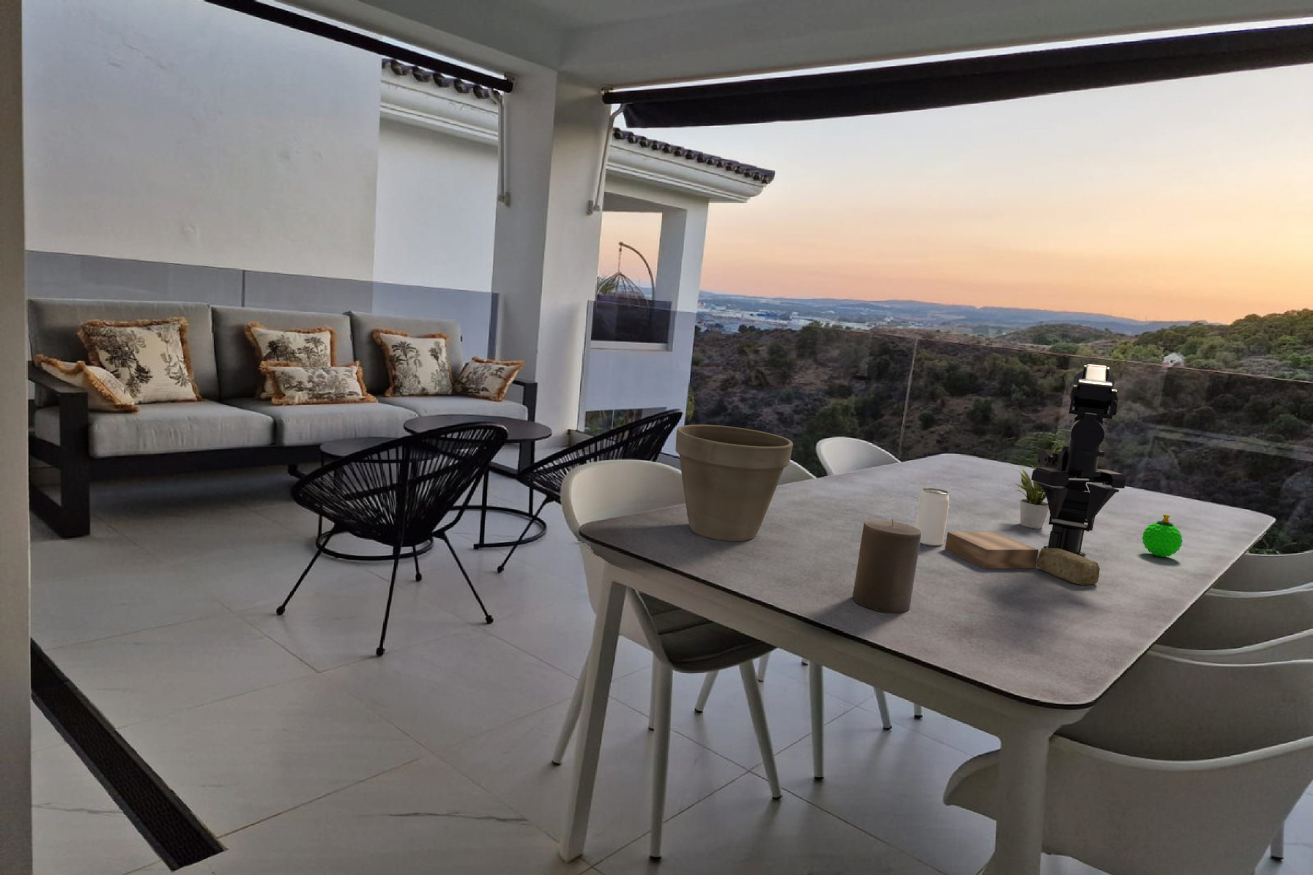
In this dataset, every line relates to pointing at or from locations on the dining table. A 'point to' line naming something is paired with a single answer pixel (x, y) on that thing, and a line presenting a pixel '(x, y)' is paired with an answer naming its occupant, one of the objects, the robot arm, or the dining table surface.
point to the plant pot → (729, 478)
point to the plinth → (991, 550)
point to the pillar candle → (886, 566)
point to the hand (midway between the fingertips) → (1071, 519)
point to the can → (932, 516)
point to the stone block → (1068, 566)
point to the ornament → (1162, 538)
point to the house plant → (1032, 503)
